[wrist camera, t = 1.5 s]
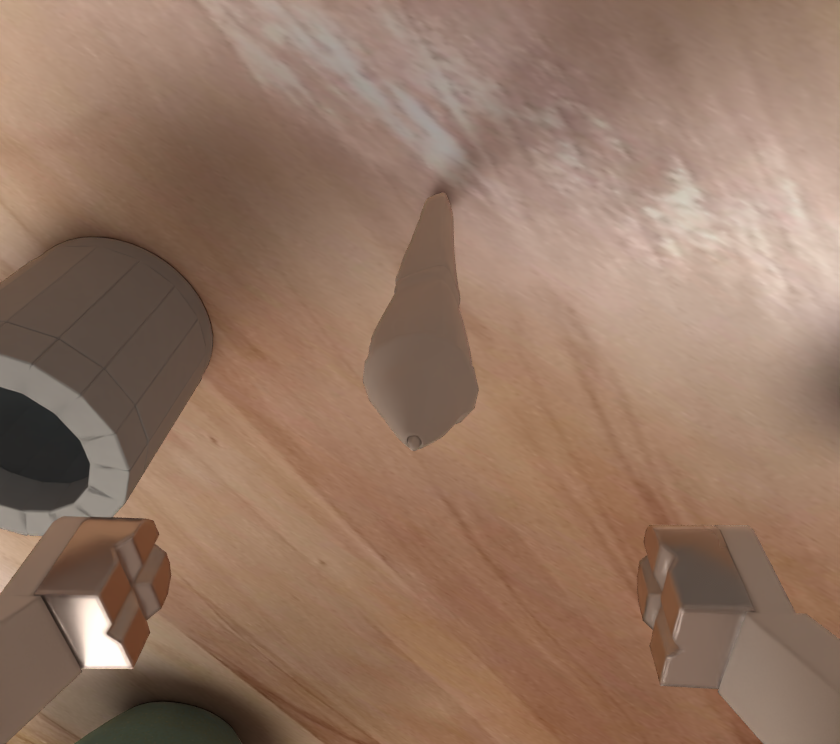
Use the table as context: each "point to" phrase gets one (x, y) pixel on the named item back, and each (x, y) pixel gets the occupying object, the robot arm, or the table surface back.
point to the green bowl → (163, 726)
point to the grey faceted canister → (91, 377)
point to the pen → (423, 339)
